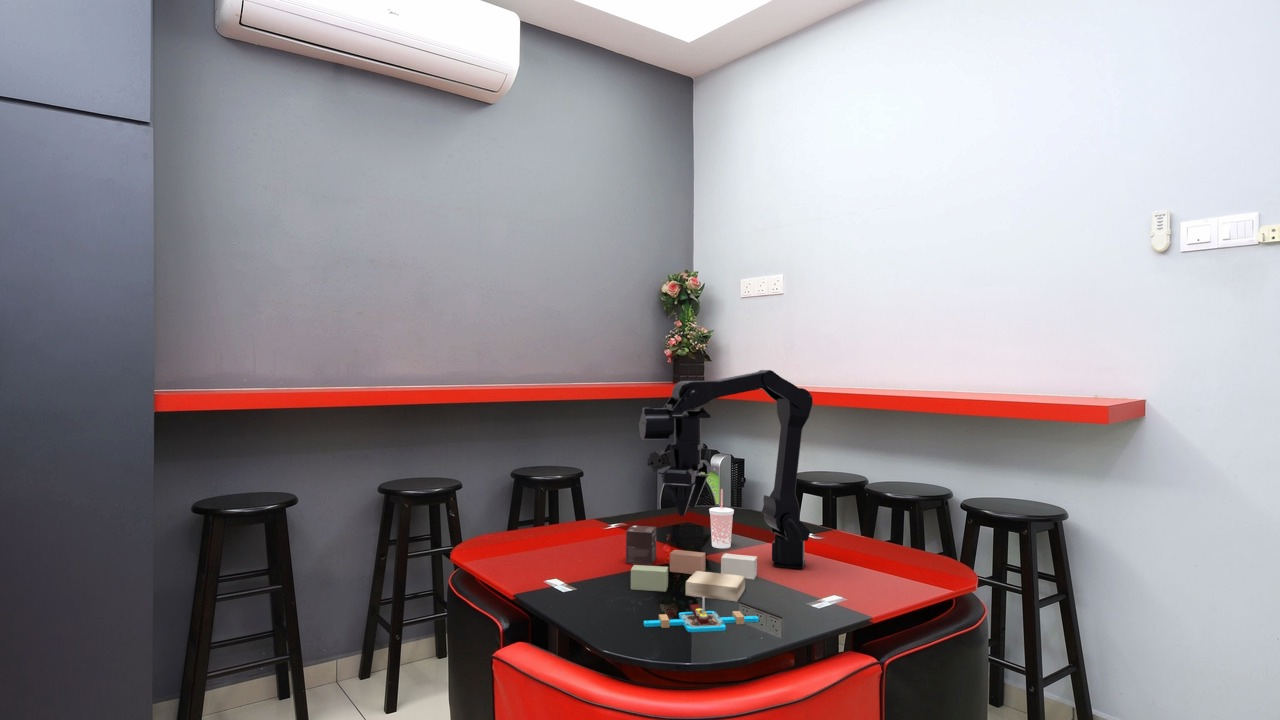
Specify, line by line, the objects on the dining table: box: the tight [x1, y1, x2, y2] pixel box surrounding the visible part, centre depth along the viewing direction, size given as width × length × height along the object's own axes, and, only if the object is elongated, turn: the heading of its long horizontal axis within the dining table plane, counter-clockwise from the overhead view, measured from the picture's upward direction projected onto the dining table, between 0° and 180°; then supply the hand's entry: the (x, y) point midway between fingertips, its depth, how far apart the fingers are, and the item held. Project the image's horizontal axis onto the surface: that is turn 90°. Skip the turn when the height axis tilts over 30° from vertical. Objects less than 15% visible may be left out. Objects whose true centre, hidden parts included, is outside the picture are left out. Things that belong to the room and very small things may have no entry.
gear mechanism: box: [643, 597, 760, 633], centre depth 121 cm, size 20×5×9 cm
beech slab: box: [685, 571, 746, 602], centre depth 138 cm, size 10×8×3 cm
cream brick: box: [720, 553, 758, 580], centre depth 149 cm, size 7×4×4 cm, turn 71°
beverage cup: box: [708, 488, 735, 549], centre depth 174 cm, size 6×6×14 cm
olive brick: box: [630, 564, 669, 593], centre depth 140 cm, size 7×4×4 cm, turn 81°
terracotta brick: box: [669, 549, 706, 575], centre depth 152 cm, size 7×4×4 cm, turn 71°
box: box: [625, 525, 657, 566], centre depth 160 cm, size 6×6×7 cm
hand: (687, 511), depth 152 cm, fingers open, 9 cm apart
